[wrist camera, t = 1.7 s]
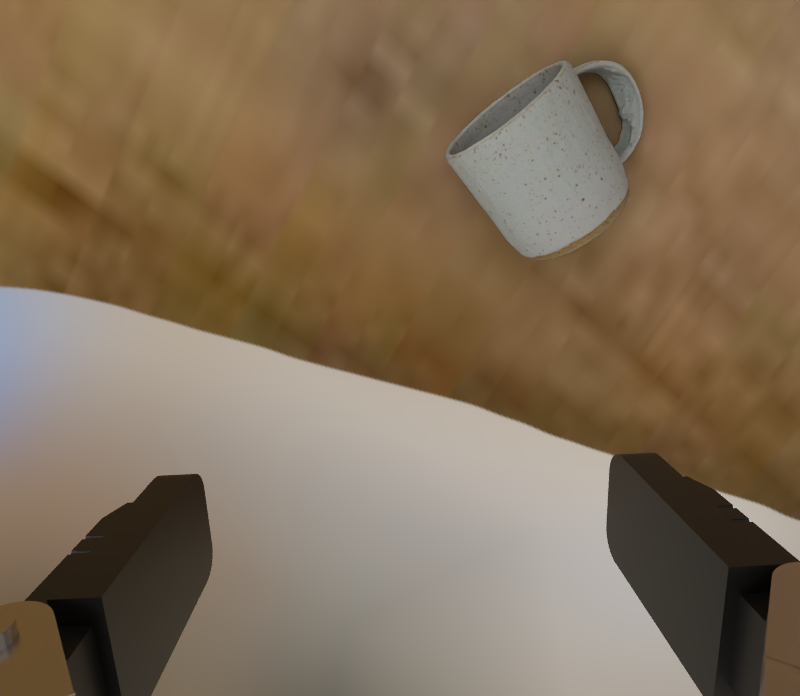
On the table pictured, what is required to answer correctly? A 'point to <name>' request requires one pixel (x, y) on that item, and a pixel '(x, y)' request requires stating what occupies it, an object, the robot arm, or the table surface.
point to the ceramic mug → (550, 159)
